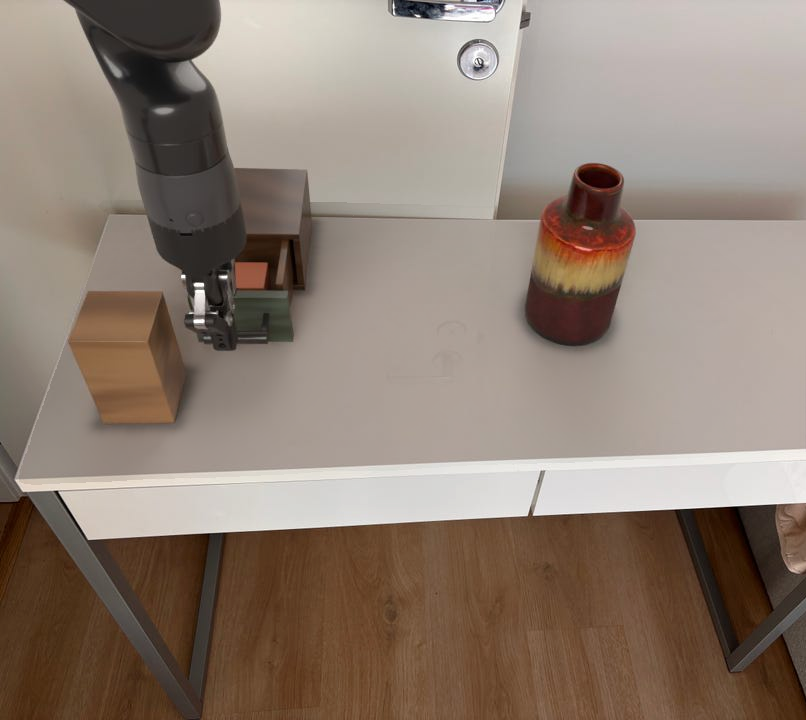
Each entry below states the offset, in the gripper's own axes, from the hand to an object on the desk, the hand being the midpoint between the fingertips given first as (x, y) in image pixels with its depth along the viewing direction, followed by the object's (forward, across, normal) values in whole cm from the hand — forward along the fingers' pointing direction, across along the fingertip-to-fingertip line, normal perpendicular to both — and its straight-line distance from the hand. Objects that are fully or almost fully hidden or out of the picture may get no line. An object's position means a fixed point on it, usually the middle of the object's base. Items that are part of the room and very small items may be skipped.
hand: (226, 345), depth 75 cm
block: (+6, -13, 0) cm, 14 cm away
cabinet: (+8, -25, 0) cm, 26 cm away
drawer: (+7, -12, 0) cm, 14 cm away
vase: (+9, -13, +38) cm, 41 cm away
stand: (+8, 0, -10) cm, 13 cm away
